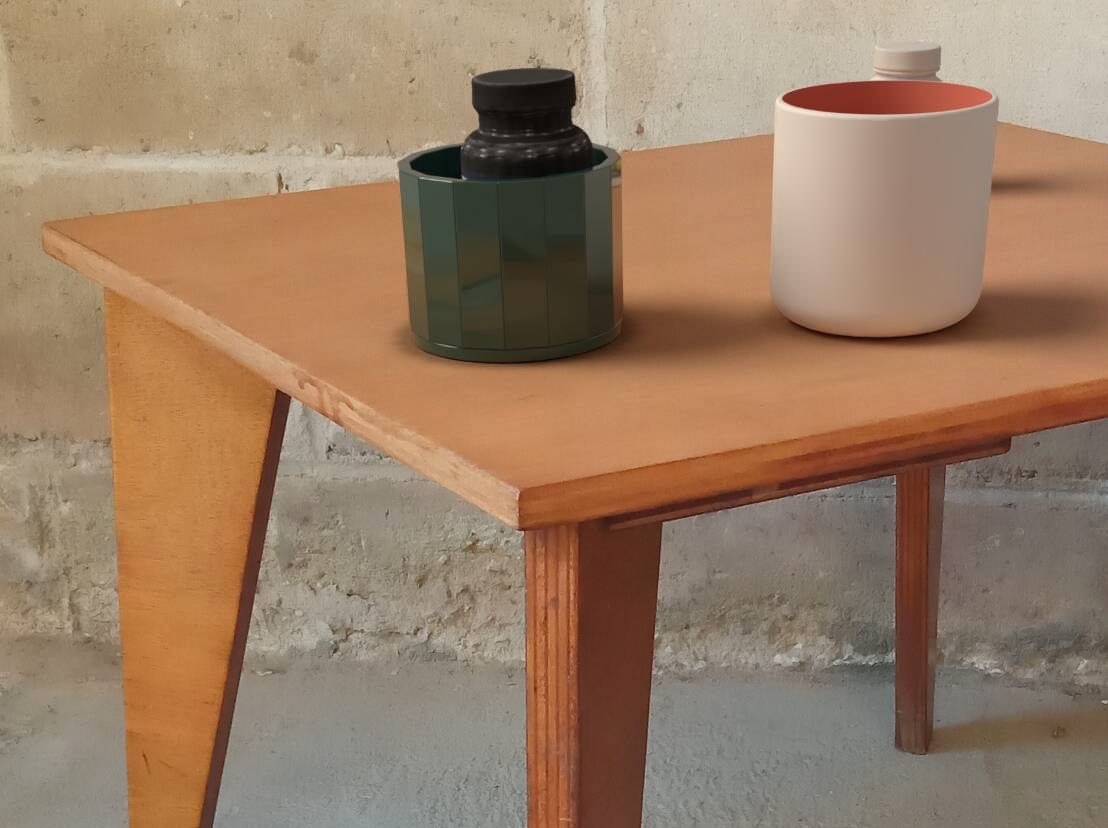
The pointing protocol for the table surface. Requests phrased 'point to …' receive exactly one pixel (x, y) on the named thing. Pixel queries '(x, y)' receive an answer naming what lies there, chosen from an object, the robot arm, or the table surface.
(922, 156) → the cup
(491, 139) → the pill bottle
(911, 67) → the supplement bottle
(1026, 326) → the table surface
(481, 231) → the green cup
